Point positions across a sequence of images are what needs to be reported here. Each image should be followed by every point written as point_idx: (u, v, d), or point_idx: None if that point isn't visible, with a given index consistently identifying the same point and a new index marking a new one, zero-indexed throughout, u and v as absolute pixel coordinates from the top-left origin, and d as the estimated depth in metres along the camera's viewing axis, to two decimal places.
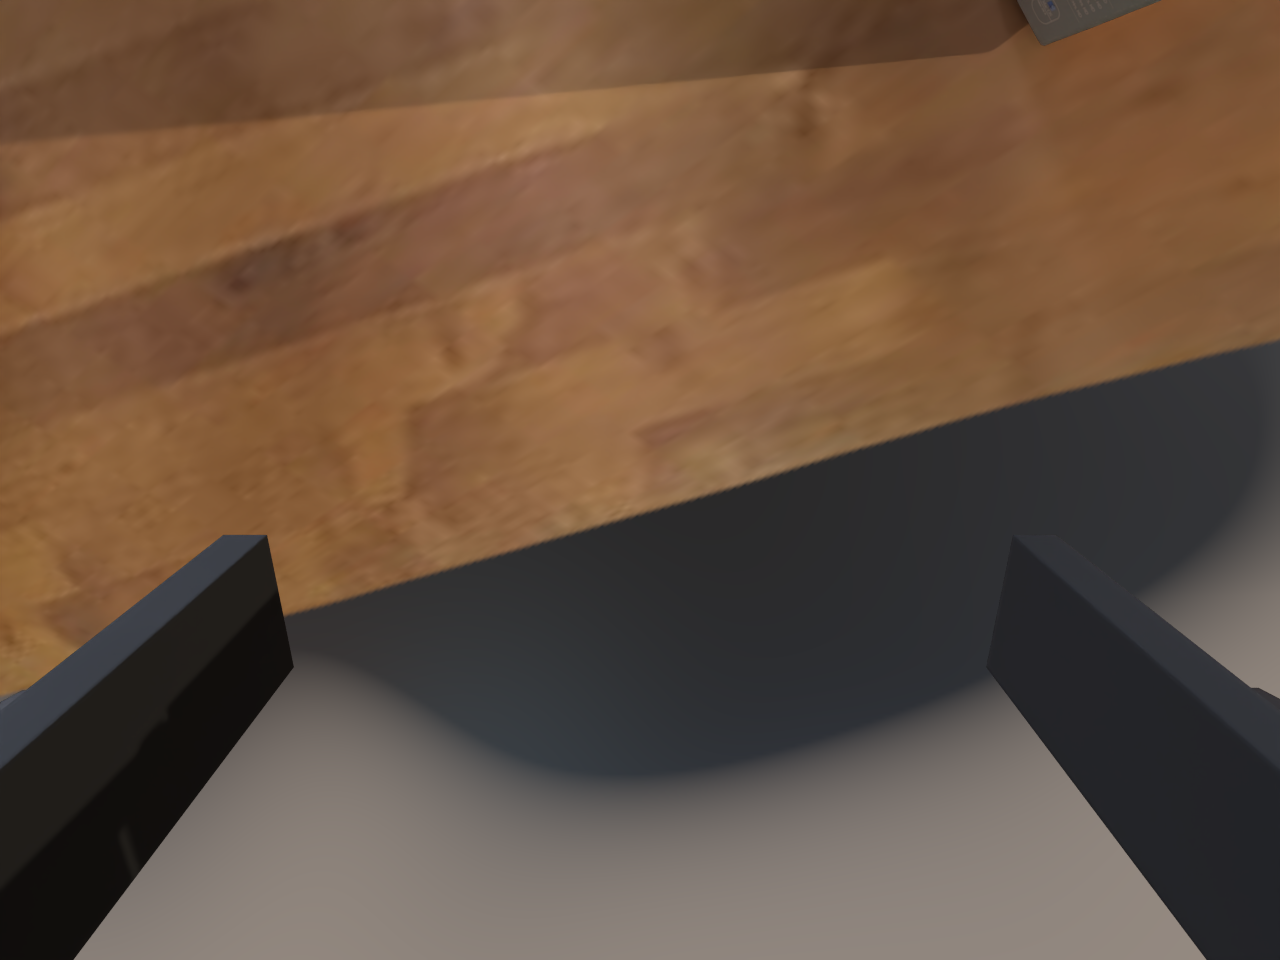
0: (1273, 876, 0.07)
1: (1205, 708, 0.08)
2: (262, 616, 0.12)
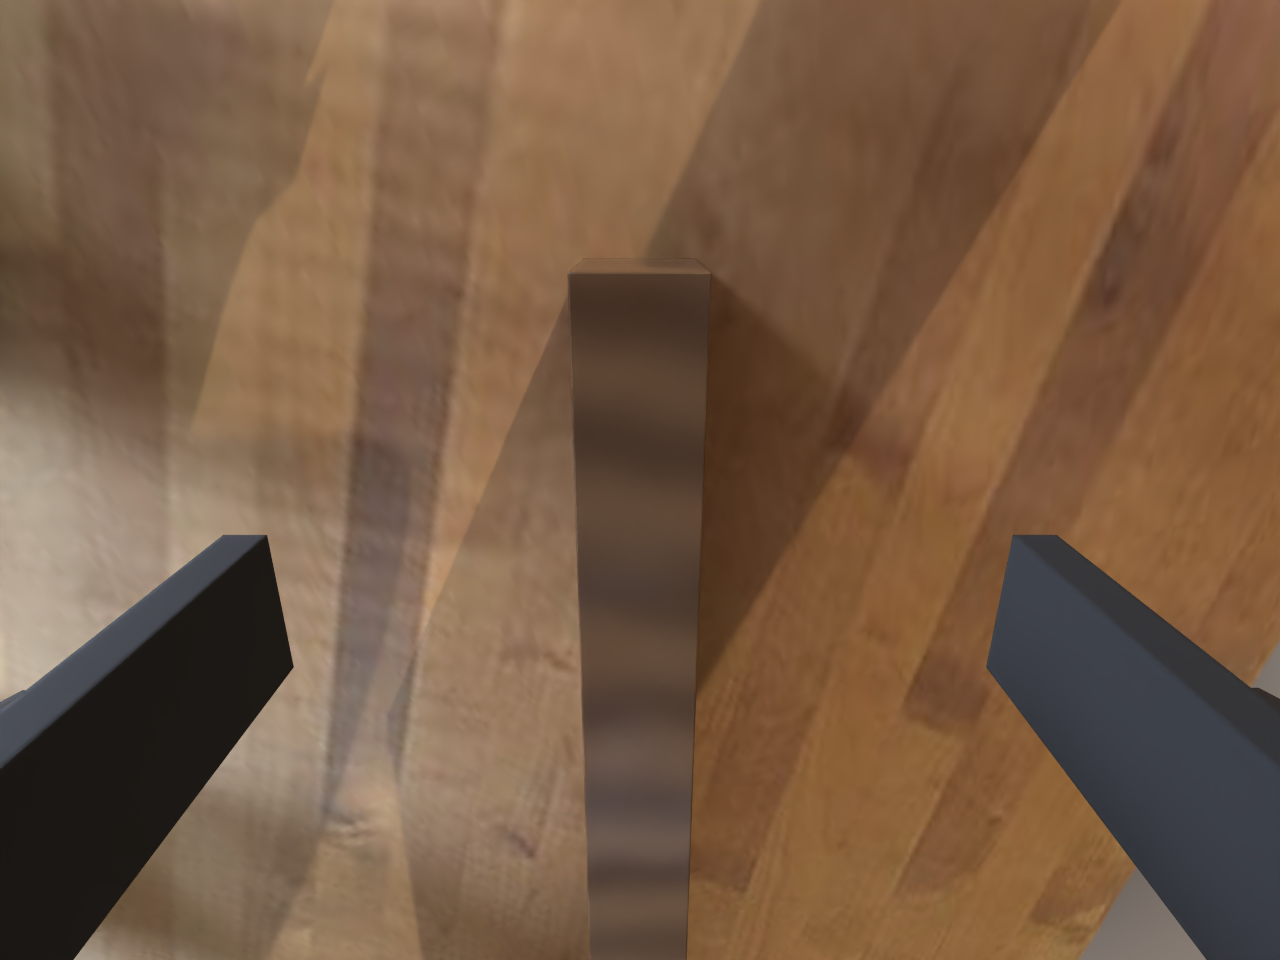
0: (1273, 876, 0.07)
1: (1205, 708, 0.08)
2: (262, 616, 0.12)
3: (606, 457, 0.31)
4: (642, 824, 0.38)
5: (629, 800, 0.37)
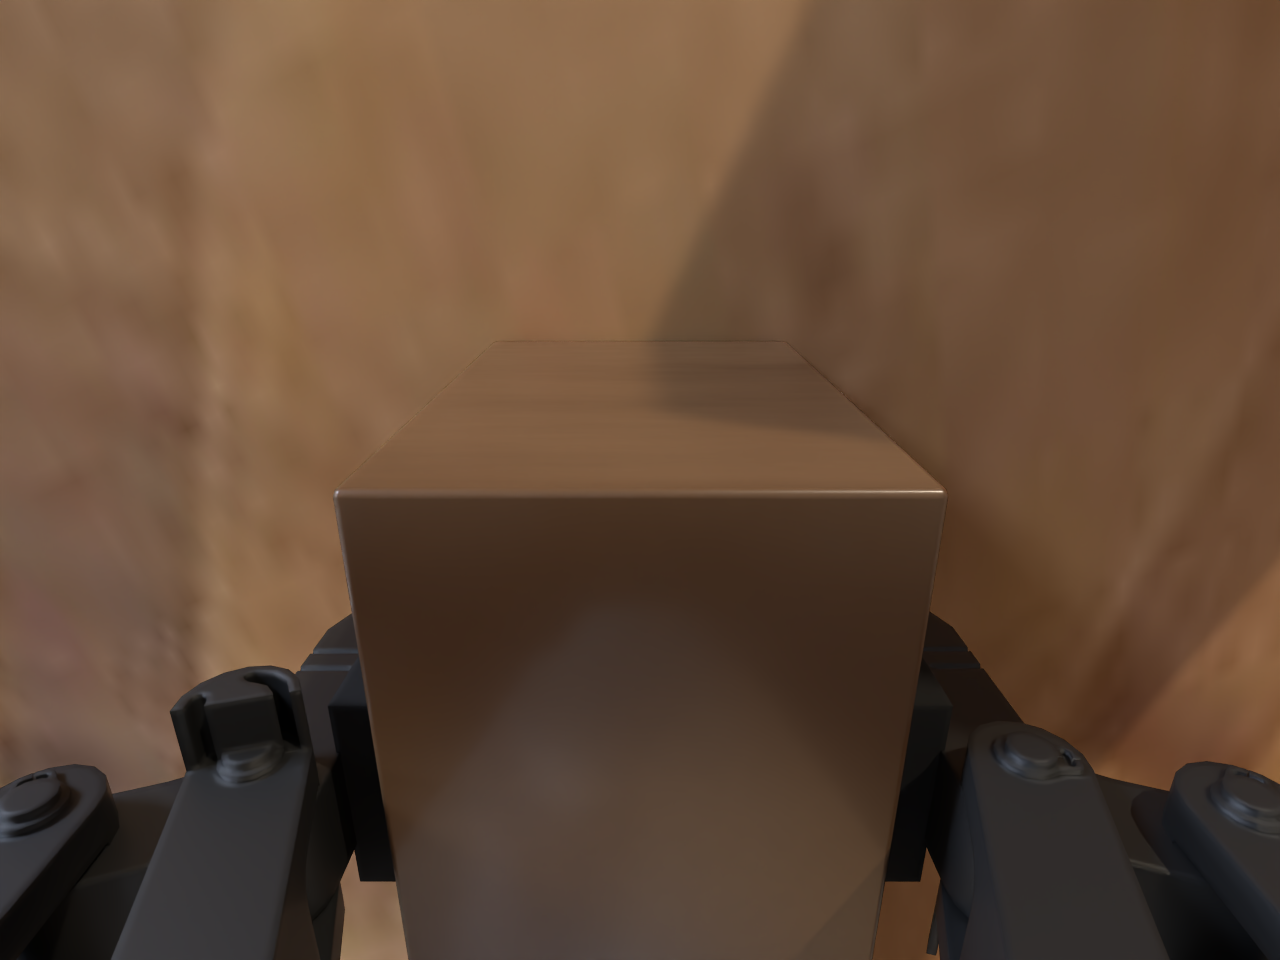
0: None
1: None
2: None
3: None
4: None
5: None
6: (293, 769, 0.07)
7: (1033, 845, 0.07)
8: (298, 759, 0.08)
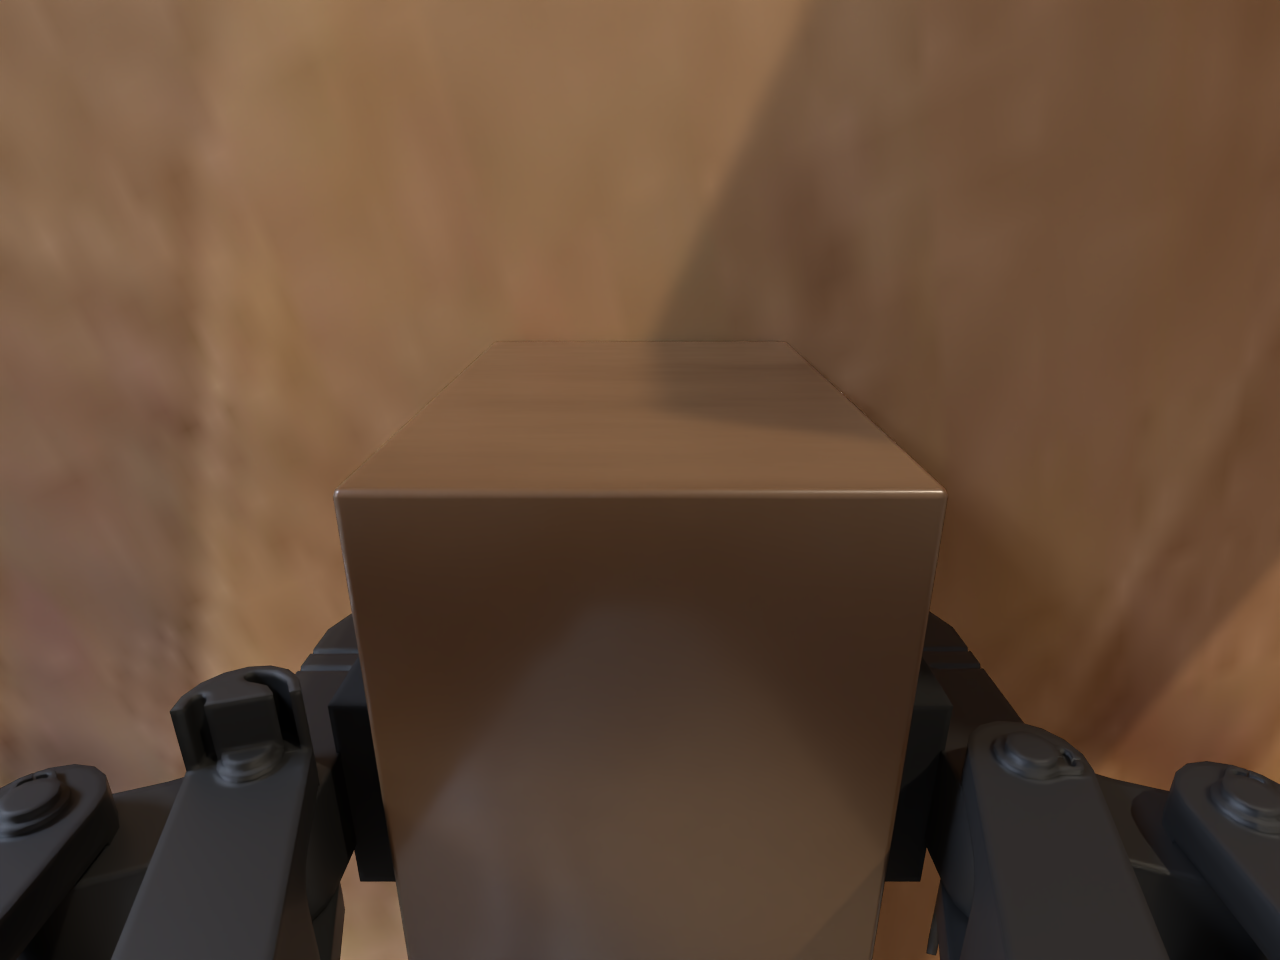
0: None
1: None
2: None
3: None
4: None
5: None
6: (293, 769, 0.07)
7: (1033, 845, 0.07)
8: (298, 759, 0.08)
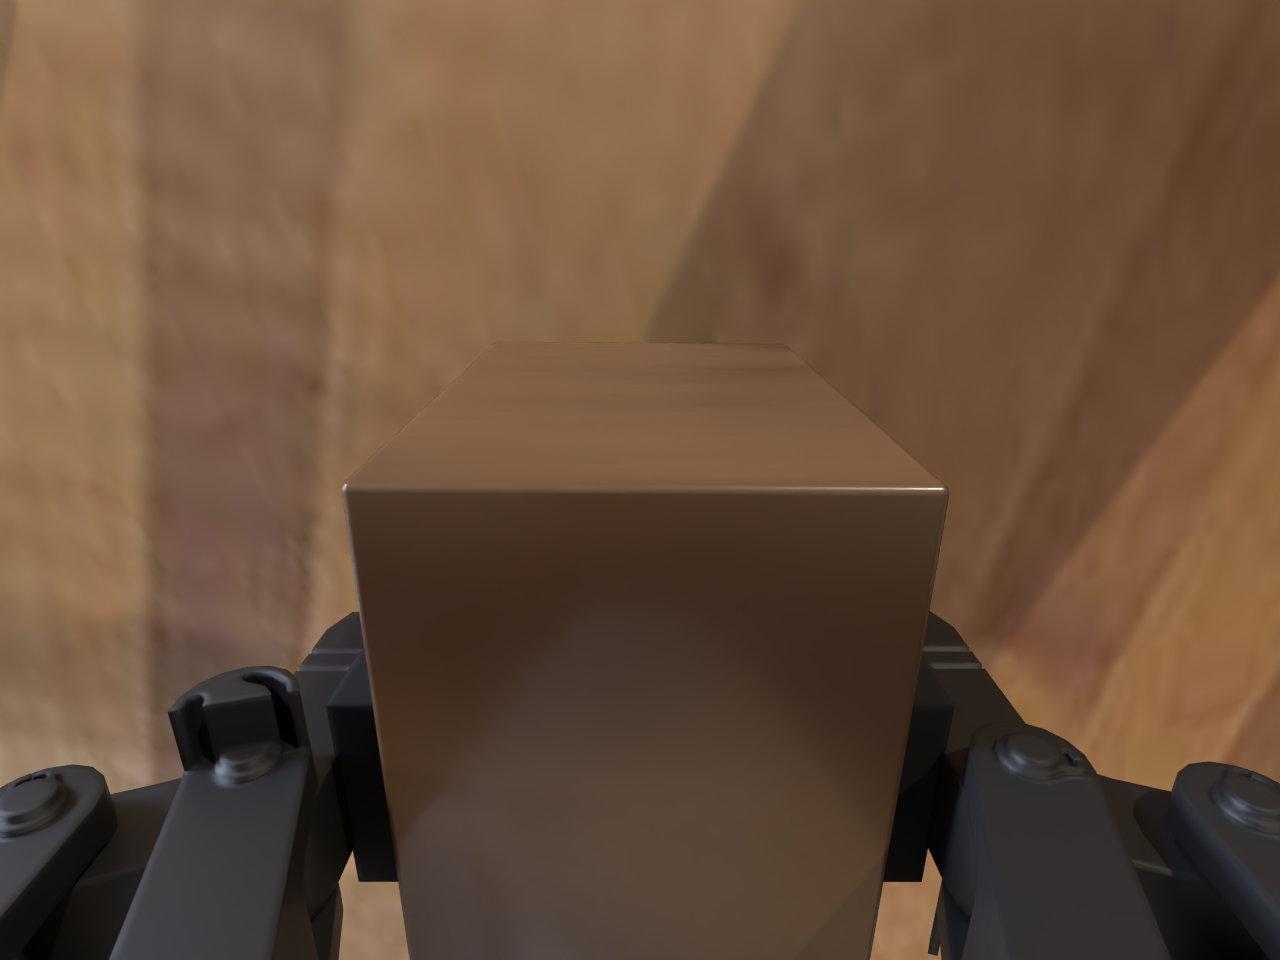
0: None
1: None
2: None
3: None
4: None
5: None
6: (292, 770, 0.07)
7: (1035, 845, 0.07)
8: (297, 760, 0.08)
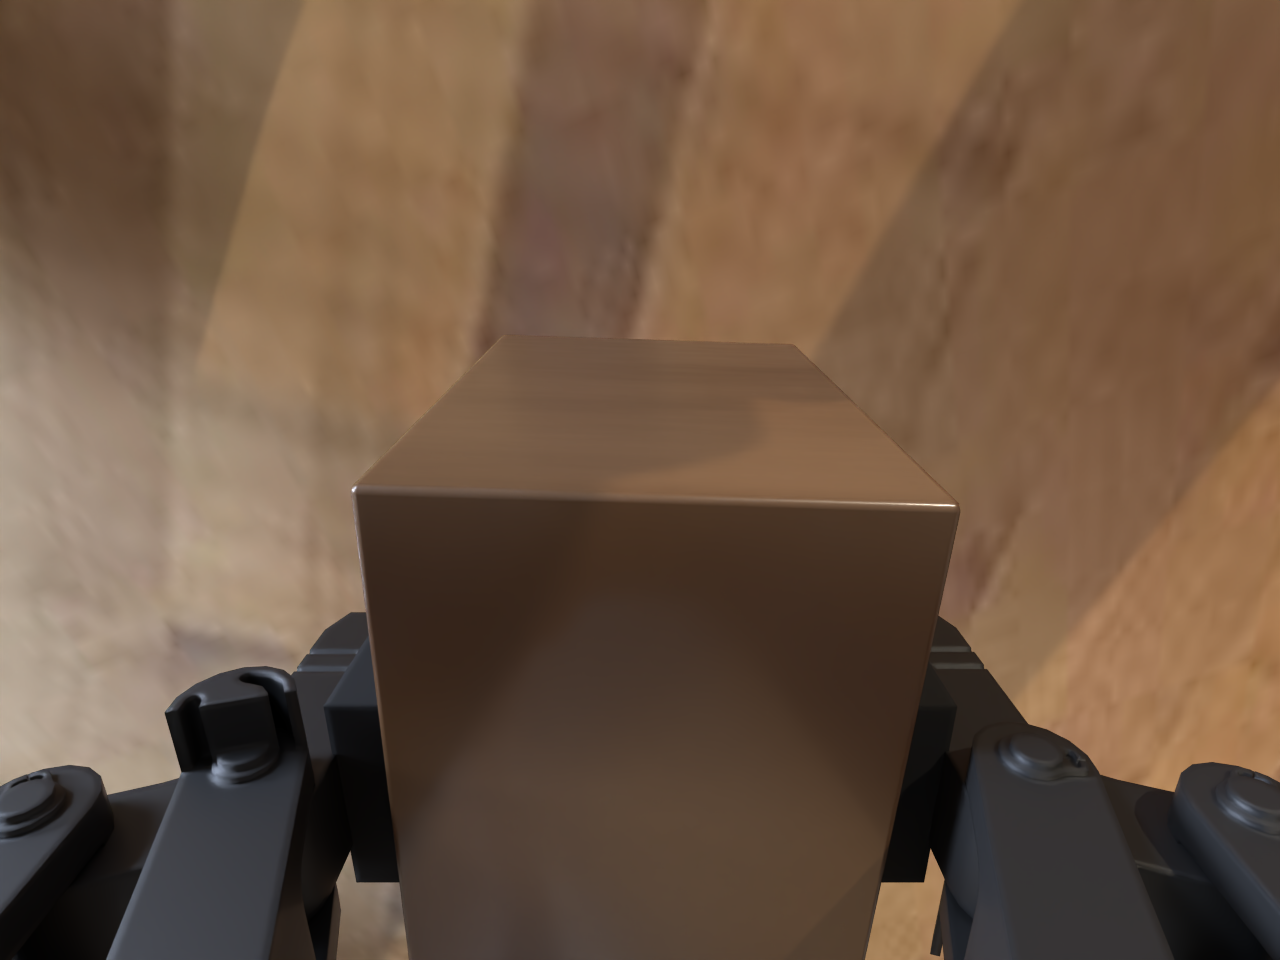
0: None
1: None
2: None
3: None
4: None
5: None
6: (289, 770, 0.07)
7: (1038, 846, 0.07)
8: (294, 760, 0.08)
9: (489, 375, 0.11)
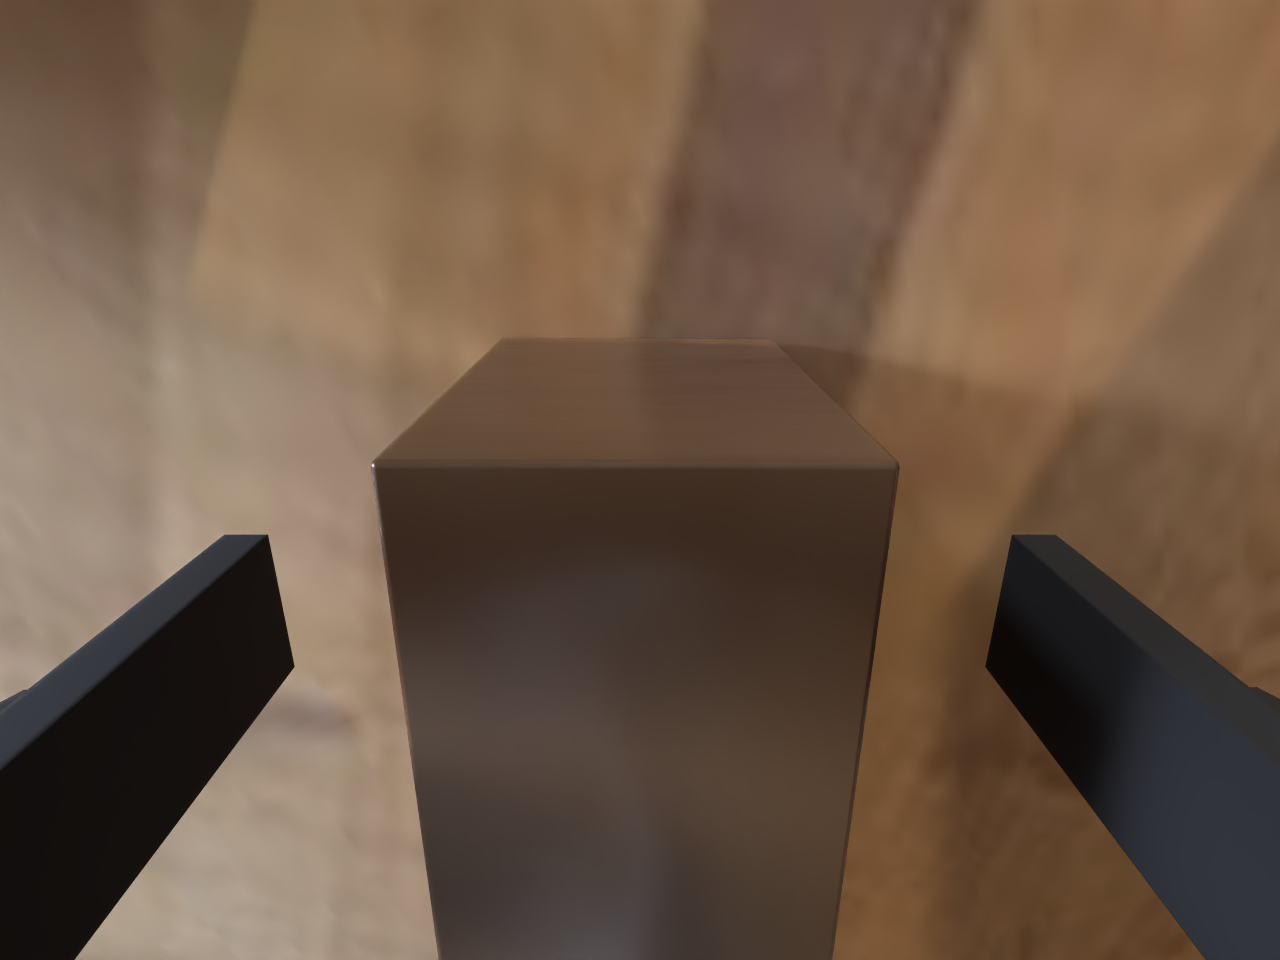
0: (1271, 875, 0.07)
1: (1203, 707, 0.08)
2: (263, 616, 0.12)
3: None
4: None
5: None
6: None
7: None
8: None
9: (489, 372, 0.12)
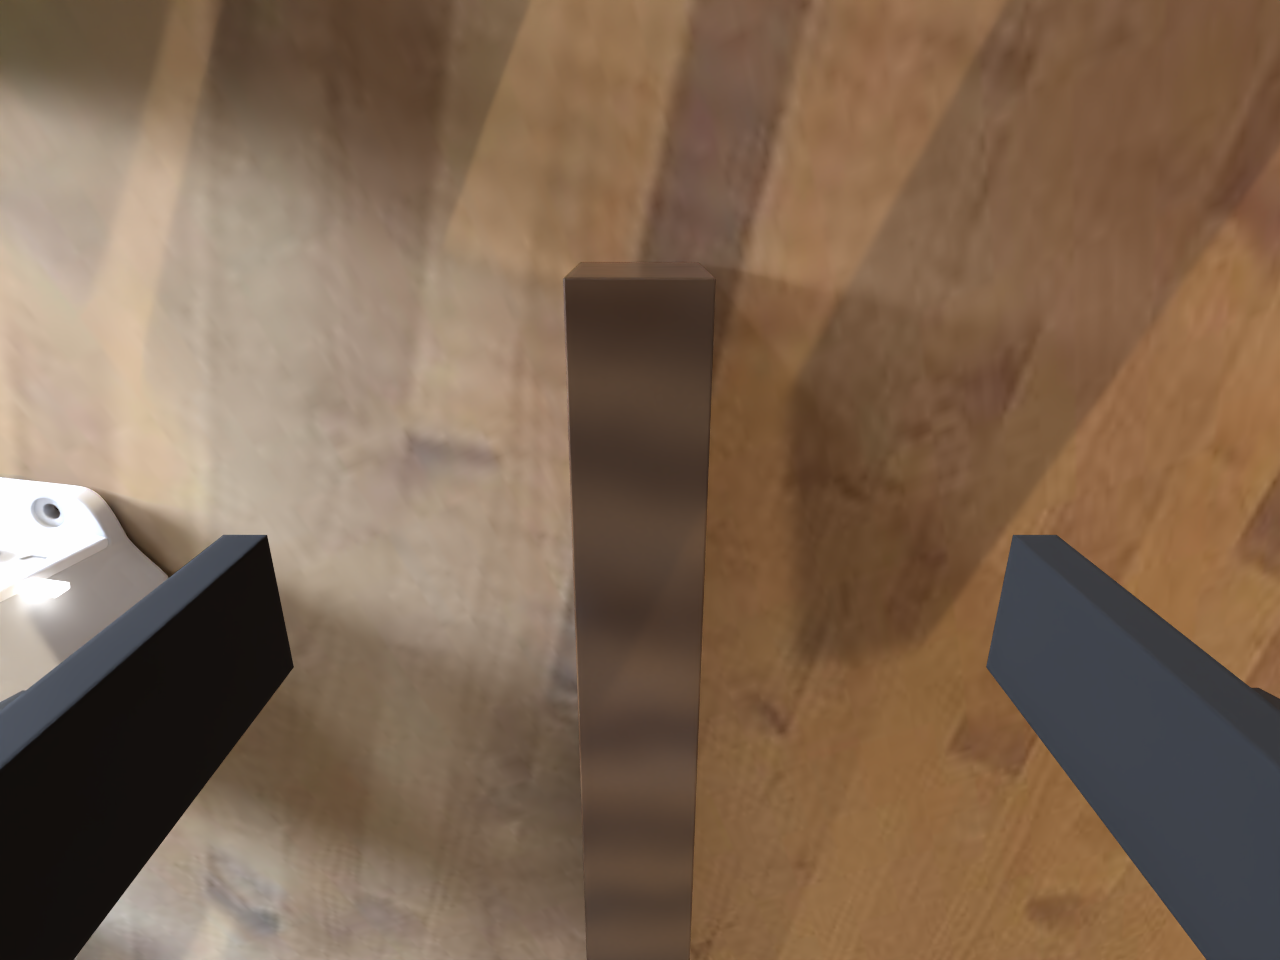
0: (1273, 876, 0.07)
1: (1205, 708, 0.08)
2: (262, 616, 0.12)
3: (604, 473, 0.29)
4: (642, 853, 0.36)
5: (628, 829, 0.36)
6: None
7: None
8: None
9: (583, 267, 0.30)
